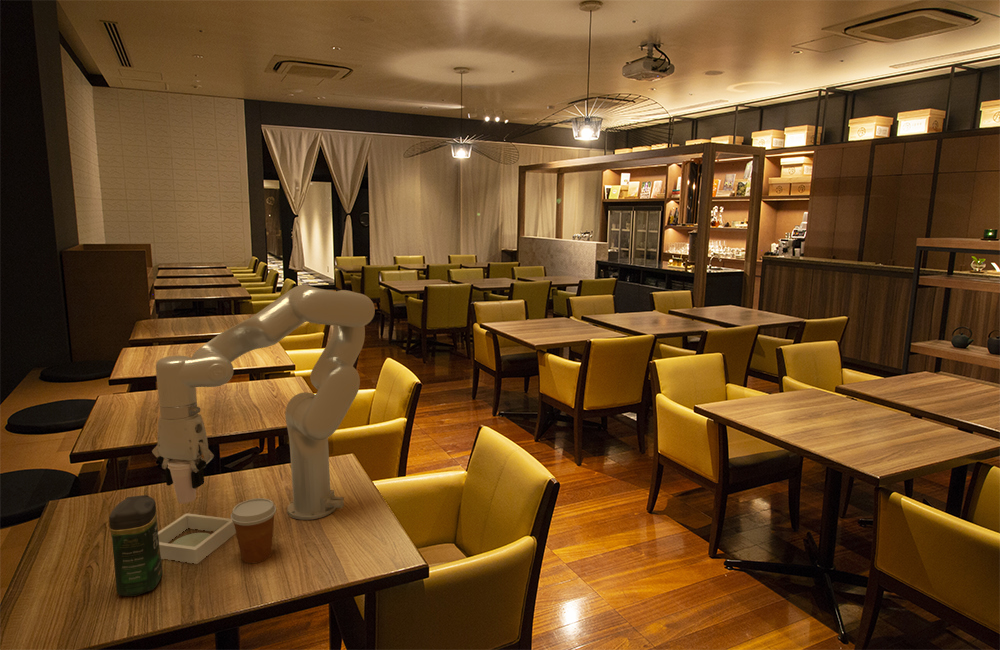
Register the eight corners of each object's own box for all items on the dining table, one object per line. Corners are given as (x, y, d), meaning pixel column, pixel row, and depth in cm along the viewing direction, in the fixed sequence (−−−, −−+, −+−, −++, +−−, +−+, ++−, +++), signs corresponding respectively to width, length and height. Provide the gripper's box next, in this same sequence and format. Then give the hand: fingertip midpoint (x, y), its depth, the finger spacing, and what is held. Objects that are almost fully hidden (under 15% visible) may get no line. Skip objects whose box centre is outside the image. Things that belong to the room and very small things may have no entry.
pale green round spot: (221, 536, 144) (221, 535, 144) (195, 556, 136) (194, 555, 136) (189, 532, 146) (189, 530, 146) (161, 552, 138) (161, 550, 138)
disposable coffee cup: (235, 572, 130) (231, 521, 128) (232, 550, 138) (228, 502, 136) (281, 560, 134) (278, 511, 132) (276, 540, 143) (272, 494, 140)
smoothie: (189, 507, 135) (183, 449, 133) (164, 504, 136) (158, 446, 134) (208, 495, 141) (203, 438, 139) (184, 492, 143) (179, 436, 140)
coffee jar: (157, 594, 122) (147, 510, 119) (112, 601, 120) (102, 516, 117) (167, 568, 131) (158, 489, 128) (126, 574, 129) (116, 494, 126)
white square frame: (236, 532, 146) (235, 519, 146) (196, 564, 133) (195, 549, 132) (187, 526, 149) (186, 513, 149) (143, 556, 136) (141, 542, 135)
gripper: (223, 408, 137) (228, 481, 140) (159, 402, 141) (165, 474, 144) (200, 418, 130) (206, 495, 133) (133, 412, 133) (141, 487, 136)
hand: (185, 483), depth 138 cm, fingers closed on smoothie, 6 cm apart
